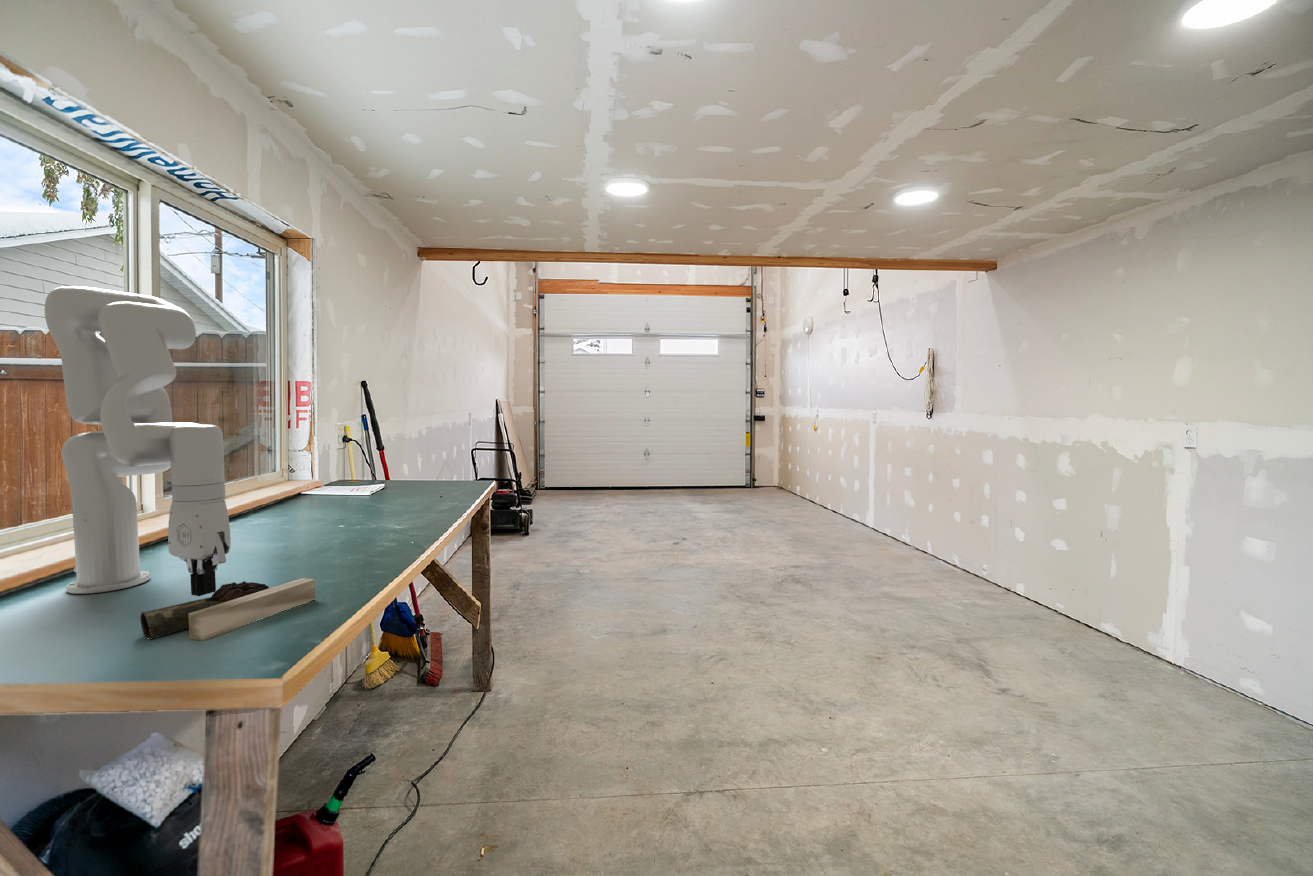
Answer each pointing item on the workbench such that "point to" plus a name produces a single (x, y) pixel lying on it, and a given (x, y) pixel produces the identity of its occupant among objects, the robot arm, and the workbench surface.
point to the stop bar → (249, 608)
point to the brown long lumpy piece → (192, 609)
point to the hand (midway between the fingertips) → (203, 593)
